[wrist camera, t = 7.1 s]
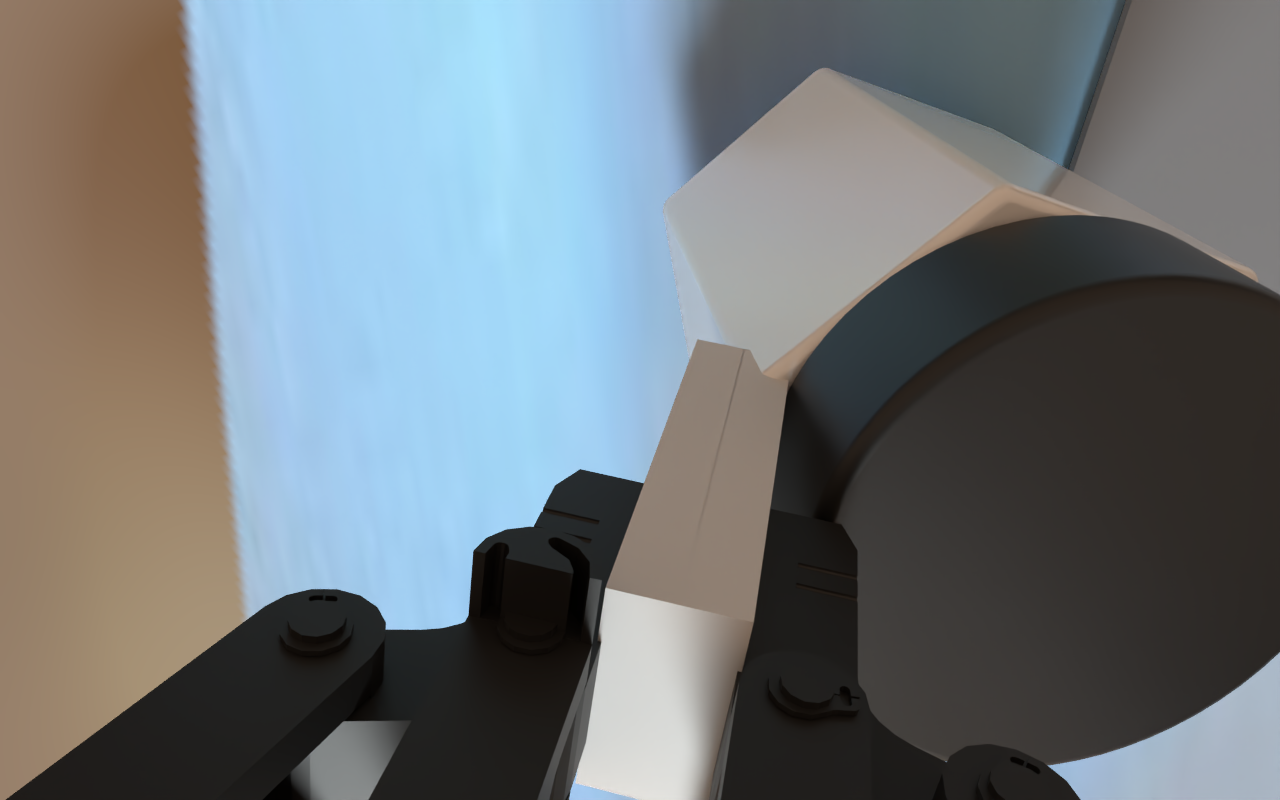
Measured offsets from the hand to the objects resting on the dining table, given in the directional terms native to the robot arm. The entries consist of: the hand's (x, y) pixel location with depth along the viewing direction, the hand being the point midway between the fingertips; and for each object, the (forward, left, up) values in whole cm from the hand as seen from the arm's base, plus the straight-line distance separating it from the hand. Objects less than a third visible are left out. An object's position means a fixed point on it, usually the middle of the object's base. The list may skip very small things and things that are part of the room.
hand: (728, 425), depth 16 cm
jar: (-1, 0, -10) cm, 10 cm away
